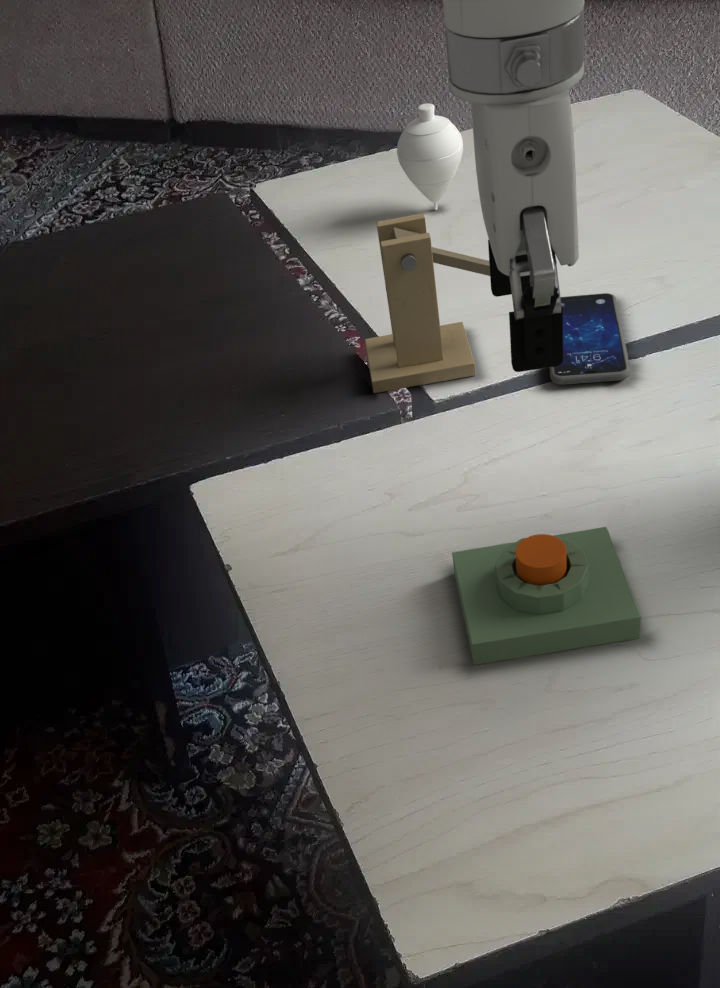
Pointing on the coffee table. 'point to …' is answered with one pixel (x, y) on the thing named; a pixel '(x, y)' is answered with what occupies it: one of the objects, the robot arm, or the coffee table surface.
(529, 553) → the button
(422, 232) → the lever bracket
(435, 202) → the spinning top
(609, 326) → the smartphone
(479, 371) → the coffee table surface
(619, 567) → the control block
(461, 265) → the press lever
